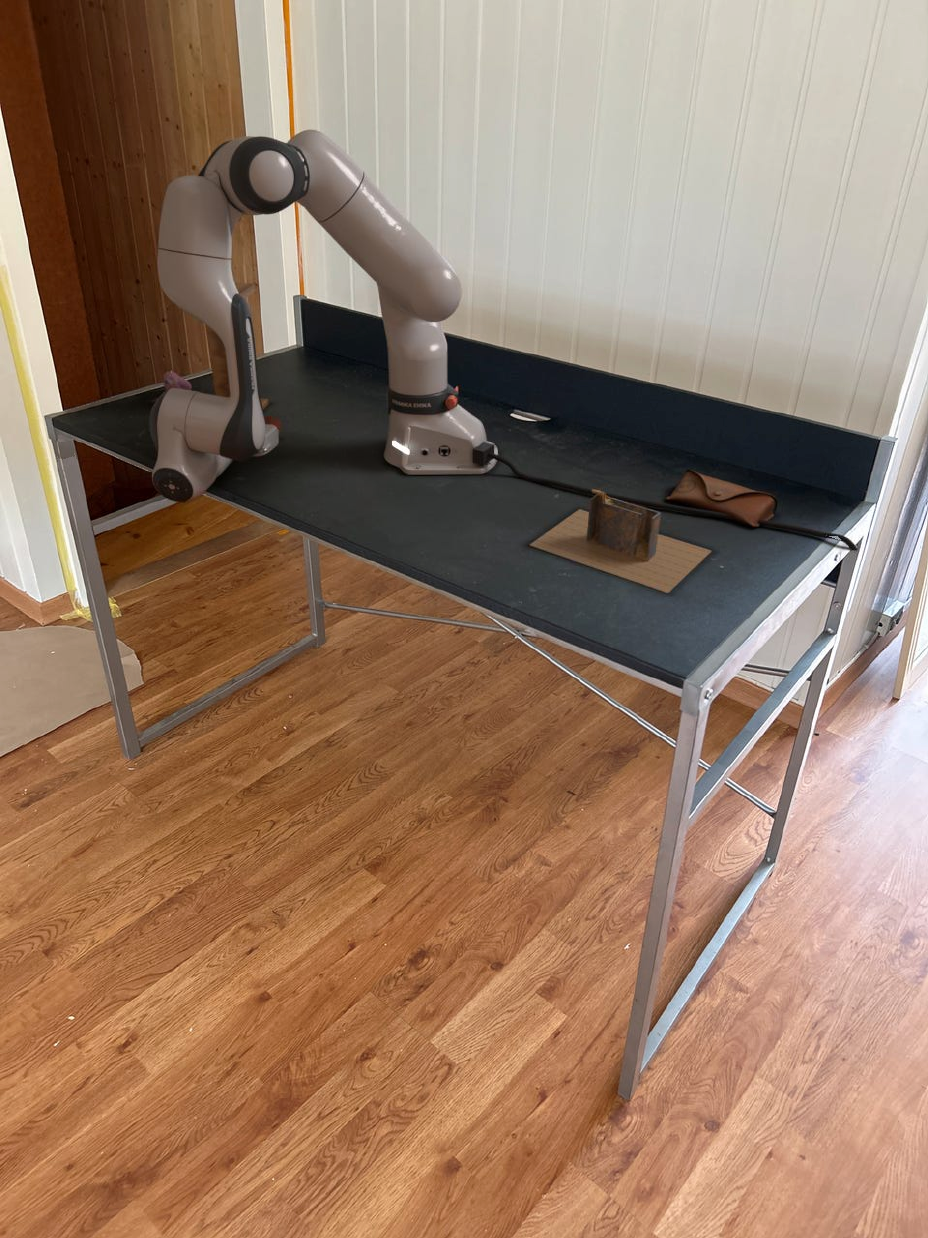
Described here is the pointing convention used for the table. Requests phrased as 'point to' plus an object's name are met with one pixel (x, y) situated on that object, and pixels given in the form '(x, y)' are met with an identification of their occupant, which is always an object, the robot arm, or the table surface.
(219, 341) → the stand
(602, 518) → the ruin model on sheet
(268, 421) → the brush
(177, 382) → the video game controller
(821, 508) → the table surface
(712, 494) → the sunglasses case
